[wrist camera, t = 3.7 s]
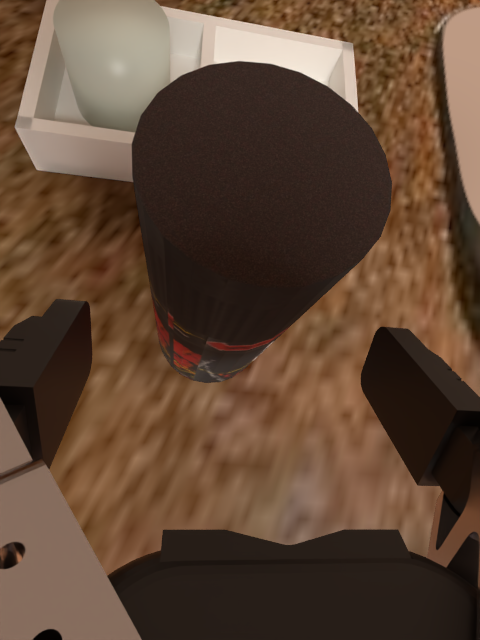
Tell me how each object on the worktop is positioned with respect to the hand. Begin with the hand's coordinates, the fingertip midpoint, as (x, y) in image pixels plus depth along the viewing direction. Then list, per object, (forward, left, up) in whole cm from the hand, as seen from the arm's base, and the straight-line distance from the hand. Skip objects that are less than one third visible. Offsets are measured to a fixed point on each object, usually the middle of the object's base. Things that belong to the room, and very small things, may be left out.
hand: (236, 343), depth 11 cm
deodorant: (-2, +3, -12) cm, 12 cm away
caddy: (-13, +13, -12) cm, 22 cm away
